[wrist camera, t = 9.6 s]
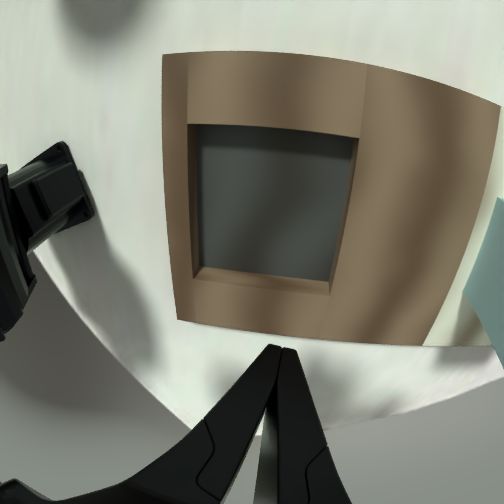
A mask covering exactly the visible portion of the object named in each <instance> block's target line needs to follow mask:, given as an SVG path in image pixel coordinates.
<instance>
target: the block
mask: <svg viewBox="0 0 504 504" xmlns="http://www.w3.org/2000/svg"><path fill="white" fill-rule="evenodd" d="M463 291H464V293H465V295H466V296H467V298H468V300H469V302H470V303H471V305H472V307H473V309H474V310H475V312H476V314H477V316H478V318H479V319H480V321H481V323H482V325H483V327H484V329H485V331H486V333H487V335H488V337H489V339H490V341H491V343H492V345H493V347H494V349H495V351H496V353H497V355H498V357H499V360H500V362H501V364H502V366H503V368H504V199H503V198H500V197H497V199H496V203H495V206H494V209H493V213H492V216H491V219H490V222H489V225H488V228H487V231H486V234H485V237H484V240H483V242H482V245H481V248H480V250H479V253H478V256H477V258H476V261H475V263H474V266H473V268H472V270H471V273H470V275H469V278H468V280H467V282H466V284H465V287H464V289H463Z"/></svg>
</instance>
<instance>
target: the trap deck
mask: <svg viewBox="0 0 504 504" xmlns="http://www.w3.org/2000/svg"><path fill="white" fill-rule="evenodd" d="M162 150H163V175H164V193H165V208H166V221H167V233H168V244H169V254H170V264H171V273H172V282H173V290H174V298H175V306H176V313H177V320H183V321H188V322H194V323H200V324H206V325H212V326H218V327H225V328H231V329H238V330H245V331H252V332H260V333H267V334H275V335H284V336H293V337H302V338H311V339H322V340H333V341H345V342H358V343H374V344H392V345H418V346H493V345H492V343H491V341H490V339H489V337H488V335H487V333H486V331H485V329H484V327H483V325H482V323H481V321H480V319H479V318H478V316H477V314H476V312H475V310H474V309H473V307H472V305H471V303H470V302H469V300H468V298H467V296H466V295H465V293H464V291H463V289H464V287H465V284H466V282H467V280H468V278H469V275H470V273H471V270H472V268H473V266H474V263H475V261H476V258H477V256H478V253H479V250H480V248H481V245H482V242H483V240H484V237H485V234H486V231H487V228H488V225H489V222H490V219H491V216H492V213H493V209H494V206H495V203H496V199H497V197H500V198H503V199H504V107H502V106H499V105H497V104H495V103H492V102H490V101H488V100H485V99H483V98H480V97H478V96H475V95H473V94H470V93H468V92H465V91H462V90H460V89H457V88H454V87H451V86H448V85H445V84H442V83H439V82H436V81H433V80H429V79H426V78H423V77H419V76H416V75H412V74H408V73H404V72H400V71H396V70H392V69H388V68H384V67H379V66H374V65H370V64H365V63H359V62H354V61H348V60H342V59H335V58H328V57H321V56H312V55H303V54H292V53H279V52H260V51H206V52H187V53H174V54H164V55H163V56H162Z"/></svg>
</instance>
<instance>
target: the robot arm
mask: <svg viewBox="0 0 504 504" xmlns="http://www.w3.org/2000/svg"><path fill="white" fill-rule="evenodd" d="M60 147H61V149H60ZM7 173H8V166H7V164H0V342H1V341H4V340H5V335H4V334H5V333H7V332H8V331H9V330H10V329H12V327H13V326H14V325H15V324H16V323H17V322H18V320H19V319H20V318H21V317H22V315H23V309H24V307H25V305H26V303H27V301H28V298H29V297H30V295H31V293H32V291H33V289H34V287H35V285H36V283H37V279H36V276H35V275H34V274H33V271H32V268H31V265H30V262H29V259H28V256H27V255H28V254H29V253H30V252H32V251H33V250H34V249H35V248H37V247H38V246H39V245H40V244H41V243H43V242H44V241H45V240H46V239H48V238H49V237H50V236H51V235H53V234H55V233H57V232H60V231H62V230H65V229H67V228H70V227H72V226H75V225H77V224H80V223H82V222H85V221H88V220H90V219H91V218H92V217H93V216H94V211H93V208H92V206H91V204H90V202H89V199H88V197H87V195H86V193H85V190H84V188H83V186H82V183H81V181H80V178H79V176H78V174H77V171H76V169H75V166H74V164H73V161H72V159H71V156H70V153H69V151H68V148H67V145H66V143H65V142H64V141H60V142H58V143H56V144H54V145H53V146H51V147H50V148H48V149H47V150H46V151H44V152H43V153H41V154H40V155H38V156H37V157H36V158H34V159H33V160H32V161H30V162H29V163H27V164H26V165H25V166H23V167H22V168H21V169H20V170H18V171H16V172H14V173H12V174H10V175H8V174H7ZM87 212H88V214H89V215H88V214H87ZM265 409H266V410H265ZM264 412H265V416H264V423H263V432H262V440H261V448H260V456H259V464H258V472H257V479H256V486H255V493H254V501H253V504H352V503H351V501H350V499H349V497H348V494H347V492H346V490H345V488H344V486H343V484H342V482H341V480H340V477H339V475H338V473H337V470H336V467H335V465H334V462H333V459H332V456H331V453H330V450H329V447H328V446H327V442H326V438H325V435H324V432H323V429H322V426H321V423H320V420H319V417H318V414H317V411H316V408H315V405H314V402H313V399H312V396H311V393H310V390H309V387H308V384H307V381H306V378H305V375H304V372H303V369H302V366H301V363H300V360H299V357H298V354H297V351H296V350H295V349H290V348H286V347H284V348H282V347H281V346H277V345H273V344H268V345H267V346H266V347H265V349H264V350H263V351H262V352H261V353H260V355H259V356H258V357H257V358H256V359H255V360H254V362H253V363H252V364H251V365H250V366H249V367H248V369H247V370H246V371H245V372H244V373H243V374H242V376H241V377H240V378H239V379H238V380H237V381H236V382H235V384H234V385H233V386H232V387H231V388H230V389H229V390H228V391H227V393H226V394H225V395H224V396H223V397H222V398H221V399H220V400H219V401H218V402H217V404H216V405H215V406H214V407H213V408H212V409H211V410H210V411H209V412H208V413H207V414H206V416H205V417H204V418H203V419H202V420H201V421H200V422H199V423H198V424H197V425H196V426H195V427H194V428H193V429H192V430H191V431H190V432H189V433H188V434H187V435H186V436H185V437H184V438H183V439H182V440H180V441H179V442H178V443H177V444H176V445H174V446H173V447H172V448H171V449H169V451H167V452H166V453H164V454H163V455H161V456H160V457H159V458H157V459H156V460H155V461H153V462H152V463H151V464H149V465H148V466H146V467H145V468H144V469H142V470H141V471H139V472H138V473H136V474H135V475H134V476H132V477H130V478H128V479H126V480H124V481H122V482H120V483H118V484H116V485H113V486H110V487H107V488H104V489H101V490H97V491H94V492H91V493H87V494H84V495H80V496H76V497H73V498H69V499H65V500H59V501H52V500H51V499H49V498H47V497H46V496H44V495H42V494H41V493H39V492H37V491H36V490H33V489H32V488H31V487H29V486H27V485H26V484H24V483H23V482H21V481H19V480H18V479H15V478H14V479H11V480H9V481H7V482H4V483H1V482H0V504H224V502H225V500H226V498H227V496H228V494H229V492H230V490H231V487H232V485H233V483H234V481H235V479H236V477H237V475H238V472H239V470H240V468H241V466H242V464H243V461H244V459H245V457H246V455H247V452H248V450H249V448H250V446H251V443H252V441H253V439H254V436H255V434H256V432H257V429H258V427H259V425H260V422H261V420H262V417H263V415H264Z"/></svg>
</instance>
